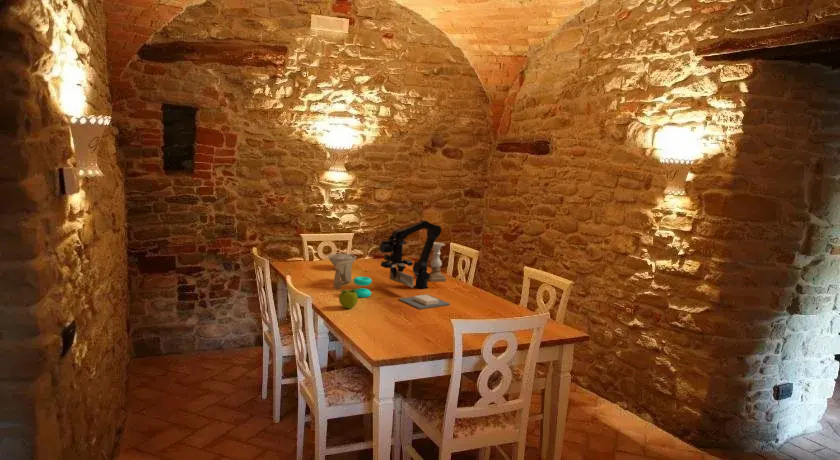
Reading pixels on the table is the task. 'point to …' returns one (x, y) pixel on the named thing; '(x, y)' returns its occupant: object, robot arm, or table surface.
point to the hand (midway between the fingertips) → (396, 278)
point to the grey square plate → (420, 305)
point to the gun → (342, 273)
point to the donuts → (363, 282)
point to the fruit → (348, 298)
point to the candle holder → (436, 264)
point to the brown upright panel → (402, 278)
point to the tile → (426, 299)
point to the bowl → (341, 258)
